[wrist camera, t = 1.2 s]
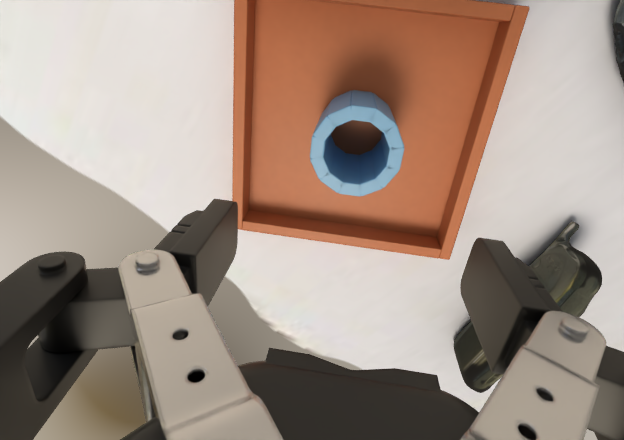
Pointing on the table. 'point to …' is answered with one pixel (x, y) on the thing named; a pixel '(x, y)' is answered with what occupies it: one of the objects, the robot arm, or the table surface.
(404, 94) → the tray
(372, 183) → the blue hollow tube
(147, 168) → the table surface
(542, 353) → the robot arm
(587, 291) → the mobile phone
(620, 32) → the electronic device
